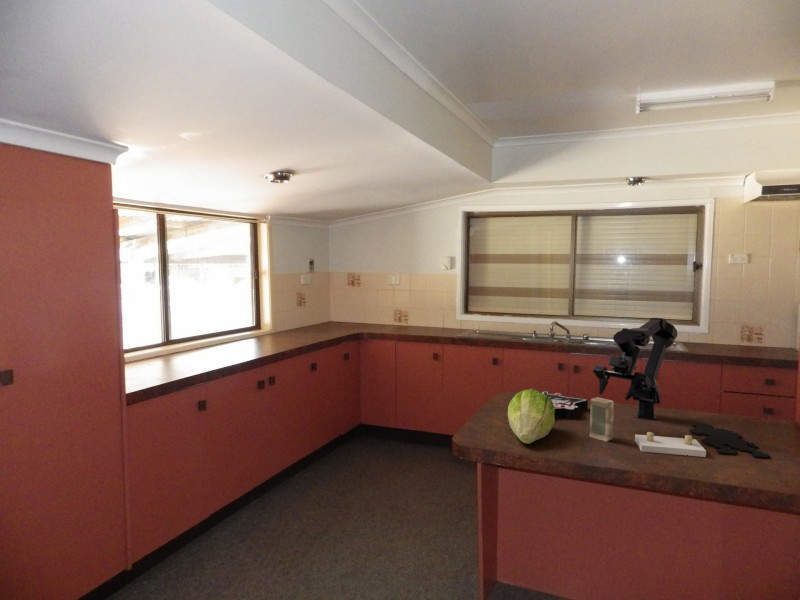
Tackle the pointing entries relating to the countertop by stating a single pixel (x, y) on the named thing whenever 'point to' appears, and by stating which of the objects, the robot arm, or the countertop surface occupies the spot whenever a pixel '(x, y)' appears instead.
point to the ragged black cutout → (726, 441)
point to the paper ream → (601, 419)
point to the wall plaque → (566, 405)
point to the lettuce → (531, 415)
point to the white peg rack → (670, 445)
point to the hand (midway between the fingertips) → (612, 396)
